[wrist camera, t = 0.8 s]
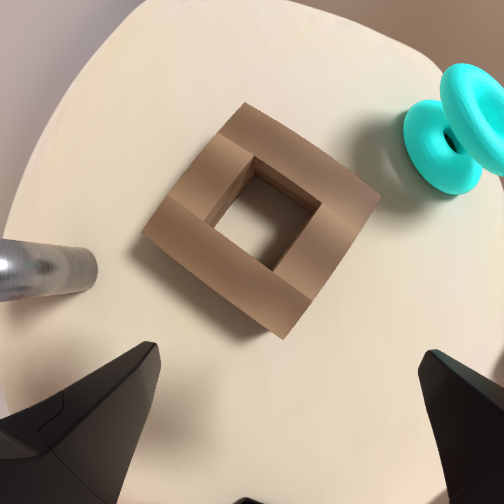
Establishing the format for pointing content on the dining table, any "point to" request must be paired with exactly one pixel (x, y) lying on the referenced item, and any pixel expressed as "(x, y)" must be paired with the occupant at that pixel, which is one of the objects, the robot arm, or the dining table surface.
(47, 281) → the steel pin
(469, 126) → the donuts
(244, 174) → the block
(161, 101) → the dining table surface
